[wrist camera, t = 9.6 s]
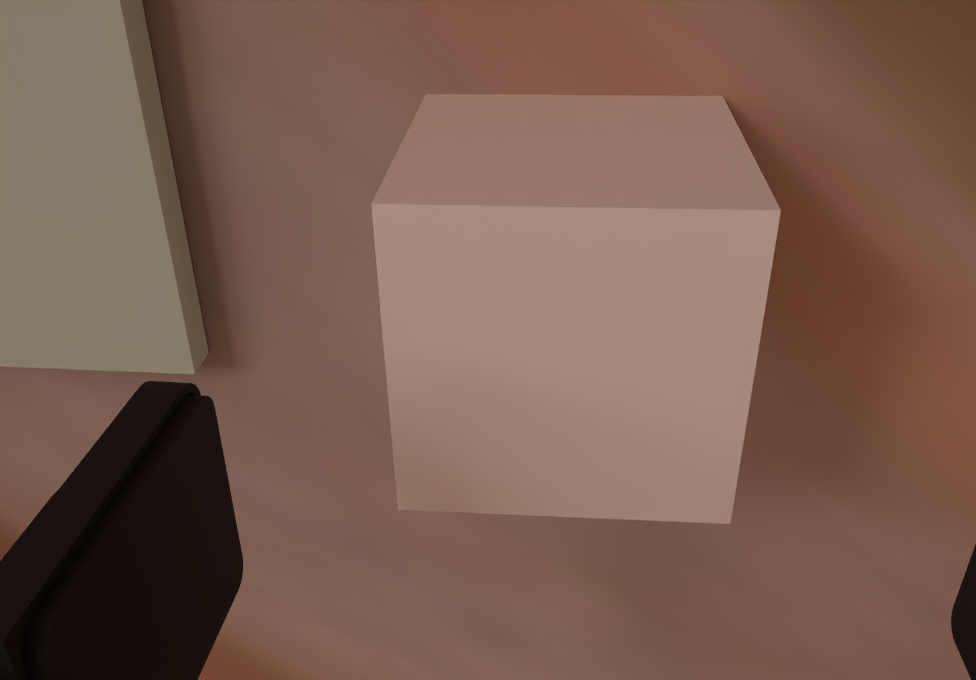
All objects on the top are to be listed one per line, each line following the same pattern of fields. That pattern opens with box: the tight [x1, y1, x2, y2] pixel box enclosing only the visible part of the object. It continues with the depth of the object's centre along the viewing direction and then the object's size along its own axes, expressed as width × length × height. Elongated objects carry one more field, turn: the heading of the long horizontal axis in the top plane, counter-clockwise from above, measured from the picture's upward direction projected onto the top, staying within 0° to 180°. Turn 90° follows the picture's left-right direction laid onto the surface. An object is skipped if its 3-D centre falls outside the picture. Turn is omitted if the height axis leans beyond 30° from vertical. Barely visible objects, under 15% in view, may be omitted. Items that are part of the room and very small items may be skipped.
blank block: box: [371, 94, 781, 524], centre depth 14 cm, size 5×5×5 cm
